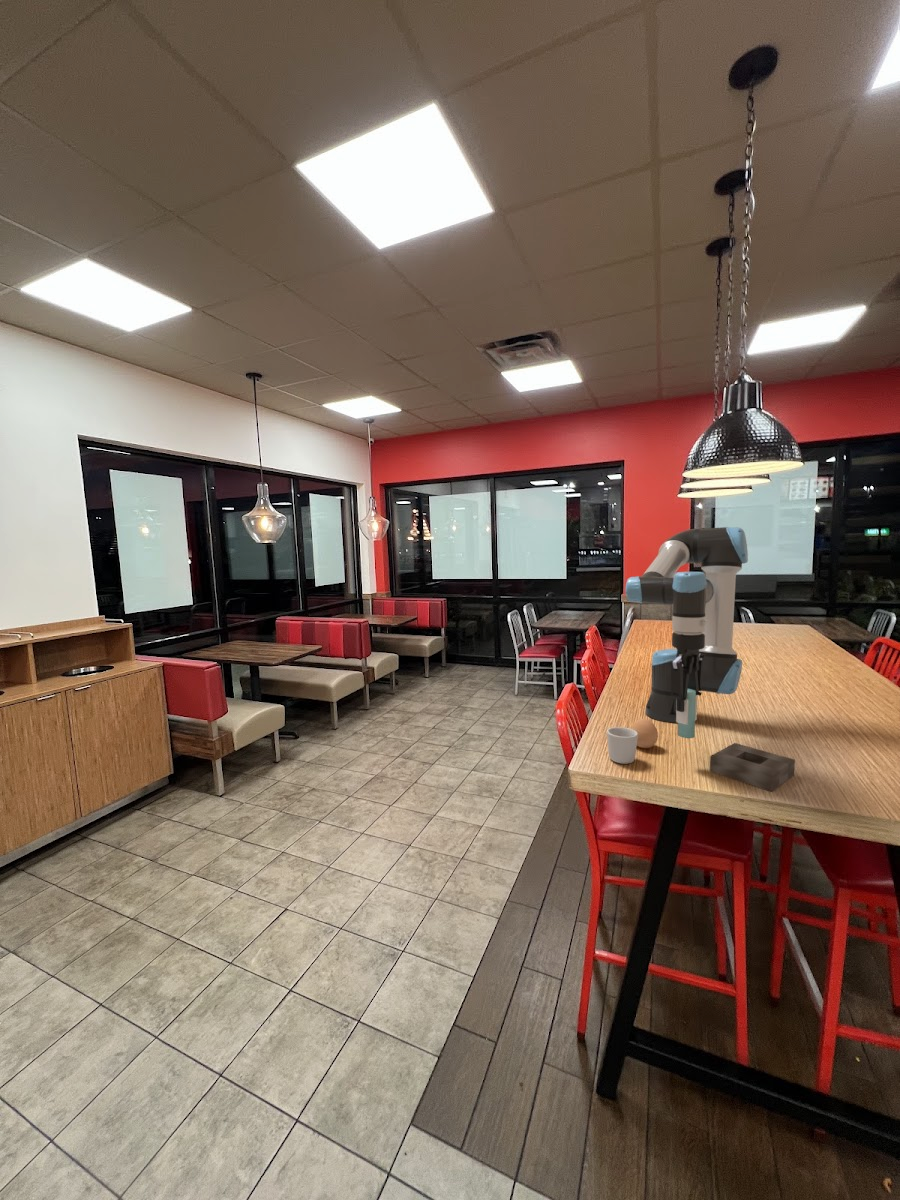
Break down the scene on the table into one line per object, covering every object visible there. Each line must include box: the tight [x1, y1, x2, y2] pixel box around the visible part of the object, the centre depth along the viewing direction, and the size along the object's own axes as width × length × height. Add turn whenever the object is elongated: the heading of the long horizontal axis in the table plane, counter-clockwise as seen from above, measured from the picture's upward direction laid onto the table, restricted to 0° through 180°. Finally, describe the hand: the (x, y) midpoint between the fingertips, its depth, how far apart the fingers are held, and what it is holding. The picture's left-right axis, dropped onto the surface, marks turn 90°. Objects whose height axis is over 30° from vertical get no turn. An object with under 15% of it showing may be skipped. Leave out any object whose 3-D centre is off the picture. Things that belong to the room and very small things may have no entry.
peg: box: [677, 689, 696, 739], centre depth 123 cm, size 4×4×12 cm
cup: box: [606, 726, 638, 765], centre depth 130 cm, size 11×8×8 cm
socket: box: [709, 742, 796, 793], centre depth 120 cm, size 14×14×4 cm
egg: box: [630, 717, 659, 749], centre depth 137 cm, size 7×7×8 cm
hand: (686, 720), depth 123 cm, fingers closed on peg, 4 cm apart
